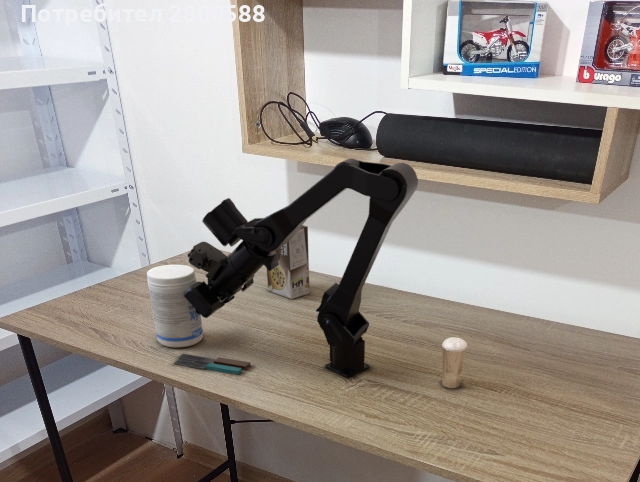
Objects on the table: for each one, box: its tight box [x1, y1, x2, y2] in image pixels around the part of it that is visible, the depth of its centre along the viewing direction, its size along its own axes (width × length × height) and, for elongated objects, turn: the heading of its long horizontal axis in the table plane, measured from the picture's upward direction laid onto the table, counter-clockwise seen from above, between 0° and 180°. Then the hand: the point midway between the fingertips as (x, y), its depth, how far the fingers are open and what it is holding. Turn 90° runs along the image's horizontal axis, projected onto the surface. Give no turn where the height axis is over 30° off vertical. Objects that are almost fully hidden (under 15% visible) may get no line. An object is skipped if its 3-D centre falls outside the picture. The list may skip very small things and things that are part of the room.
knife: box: [178, 353, 252, 371], centre depth 135 cm, size 15×2×1 cm, turn 71°
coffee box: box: [266, 224, 311, 300], centre depth 164 cm, size 9×6×16 cm
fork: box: [173, 358, 243, 376], centre depth 133 cm, size 14×2×1 cm, turn 71°
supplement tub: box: [146, 264, 204, 348], centre depth 140 cm, size 10×10×15 cm
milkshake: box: [441, 336, 472, 389], centre depth 126 cm, size 4×5×10 cm
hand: (197, 311), depth 139 cm, fingers closed, pressing on supplement tub
